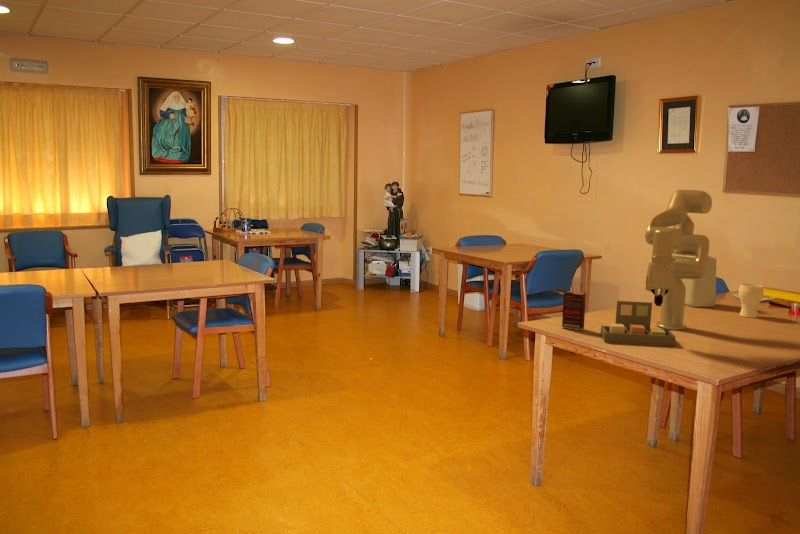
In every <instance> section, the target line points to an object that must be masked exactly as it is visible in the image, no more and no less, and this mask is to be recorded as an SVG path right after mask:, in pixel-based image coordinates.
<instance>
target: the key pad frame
mask: <svg viewBox="0 0 800 534" xmlns="http://www.w3.org/2000/svg"><path fill="white" fill-rule="evenodd" d="M650 329H651V327H650V328H645V334H630V327H625V329H624V333H612V332H610V325H601V326H600V334H601V335H600V337H601V336H602V337H601V339H602V338H603V339H602V341H603V340H604V341H603V342H604V343H607V342H611V343H610V344H623V343H624V344H625V345H626V344H627V345H640V344H643V345H645V346H658V347H674V346H676V336H675V335H674V333H673V332H671V329H665V328H660V329H661V330H664V331H665V332H666V335H651V334H650ZM643 345H642V346H643Z"/></svg>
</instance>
